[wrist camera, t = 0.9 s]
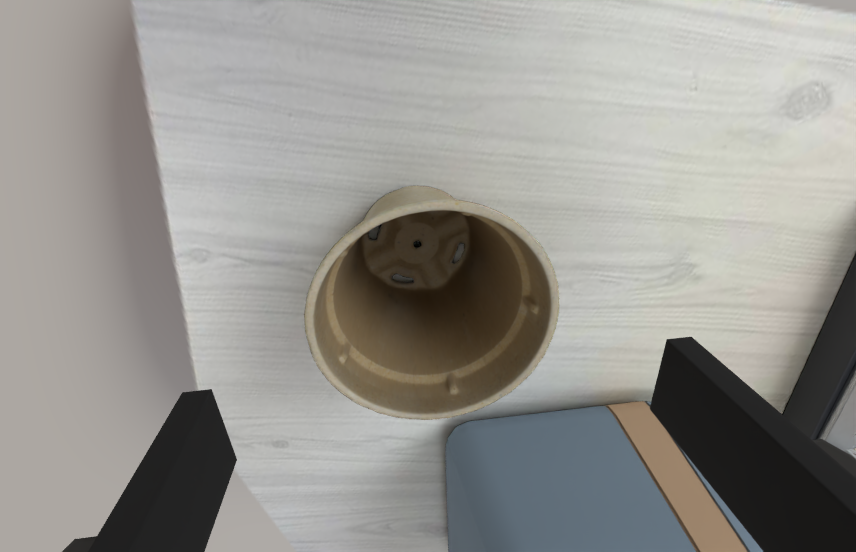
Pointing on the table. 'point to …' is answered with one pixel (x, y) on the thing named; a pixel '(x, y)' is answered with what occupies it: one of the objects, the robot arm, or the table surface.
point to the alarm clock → (582, 486)
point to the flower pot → (431, 307)
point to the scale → (830, 376)
